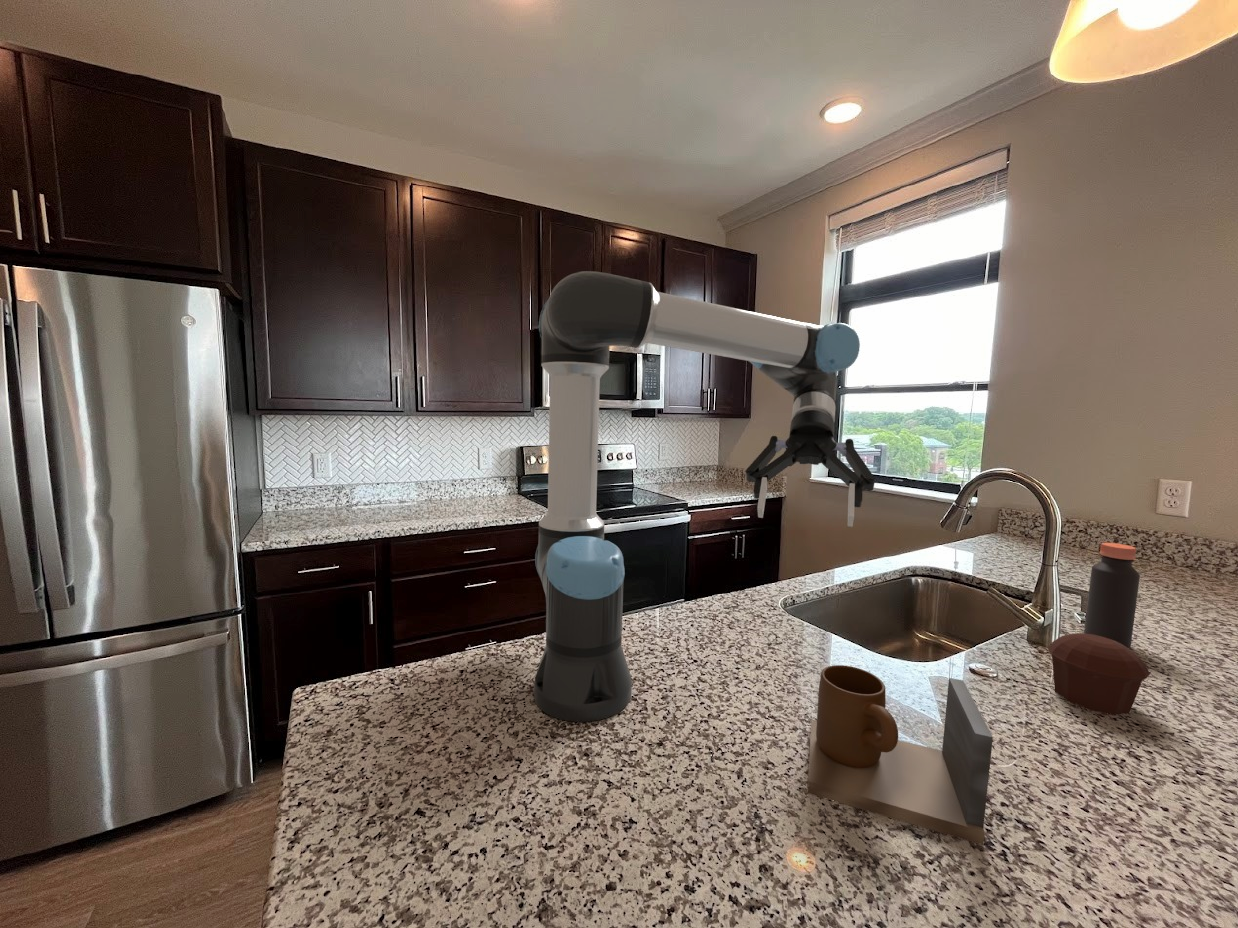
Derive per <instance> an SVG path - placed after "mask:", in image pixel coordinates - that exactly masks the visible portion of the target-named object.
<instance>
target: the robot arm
mask: <svg viewBox="0 0 1238 928" xmlns="http://www.w3.org/2000/svg"><path fill="white" fill-rule="evenodd" d="M538 320H539V321H538V331H539V336H540V338H541V363H540V364H541V365H540V366H541V367H542V368H543V370H544V371H545V372H546V373H548V375H549V414H548V415H549V417H548V419H549V421H548V422H549V427H548V428H549V429H548V475H547V476H548V479H547V482H548V483H547V485H548V486H547V512H546V514H545V516H543V517H542V518H541V519H540V520H539V521H538V544H537V547H536V551H535V555H534V557H535V559H534V560H535V567H536V568H535V569H536V571H537V574H538V577H539V578H540V581H541V584H542V588H543V591H544V594H545V604H546V605H545V606H546V607H545V609H546V611H545V612H546V613H545V615H546V616H545V618H546V619H545V647H544V650H543V653H542V657H541V659H540V662H539V664H538V668H537V670H536V673H535V677H534V681H533V699H534V702H535V704H536V705H537V707H538V708H539V709H540V710H541V711H543V712H544V713H546V714H547V715H548V716H551V717H553V718H555V719H559V720H563V721H567V722H578V723H580V722H581V723H582V722H583V723H584V722H594V721H600V720H603V719H607V718H610V717H612V716H614V715H616V714H618V713H620V712H621V711H622V710H624V709H625V708H626V707H627V706H628V705H629V703H630V702H631V699H632V693H633V692H632V691H633V690H632V688H633V686H632V685H633V680H632V676H631V673H630V669H629V665H628V662H627V660H626V656H625V653H624V648H623V646H622V641H623V640H622V637H623V609H624V608H623V607H624V606H623V605H624V602H623V601H624V580H625V574H626V573H625V565H624V556H623V555H624V554H623V553H622V551H621V549H620V548H619V547H618V546H617V545H616V544H615V543H613V542H611V541H609V540H605V521H603V519H602V518H601V517H600V516H599V515H598V514H597V497H598V496H597V492H598V491H597V490H598V489H597V488H598V460H599V459H598V456H599V455H598V454H599V452H598V451H599V450H598V449H599V419H600V417H599V416H600V386H601V385H600V383H601V381H600V380H601V378H602V376H603V375H604V374H605V373H606V372H607V371H608V370H609V369H610V347H614V346H615V347H617V346H618V347H619V346H620V347H622V346H623V347H627V348H628V347H629V348H634V349H639V348H641V347H642V346H644V345H645V344H651V345H656V346H662V347H669V348H673V349H680V350H684V351H690V352H696V353H702V354H707V355H708V354H709V355H714V356H720V357H725V358H731V359H736V360H740V361H741V360H742V361H746V362H747V361H748V362H749V363H750V364H751V365H753V366H754V367H755V368H756V370H758V371H760V372H762V374H764V375H765V376H766V377H768V378H769V379H771V380H772V381H774V382H775V383H777V384H778V385H779V386H780V387H782V388H783V389H784V390H786V391H787V392H788V393H789V394H791V395H792V396H793V403H792V413H791V419H790V420H791V421H790V426H789V428H790V429H789V434H788V435H789V436H788V438H787V439H785V440H783V439H778V437H777V436H776V435H772V436H771V437H770V439H769V442H768V444H767V446H766V447H765V448H764V449H763V450H762V451H761V453H759V455H758V456H757V457H756V458H755V459H754V460H753V461H752V463H751V464H750V465H749V466H748V467H747V468H746V469H745V476H746V481H747V482H748V483H751V482H752V483H754V486H753V497H754V499H758V502H757V507H756V508H757V509H756V510H757V517H758V518H761V519H763V518H764V512H765V505H766V498H767V494H768V493H767V492H768V482H769V481H771V480H772V479H773V478H775V477H776V476H777V475H778V474H780V473H781V472H782V471H784V470H785V469H787V468H788V467H792V466H794V465H795V464H796V463H799V464H800V465H806V464H809V465H813V466H818V465H820V464H821V465H823V466H824V467H825V469H827V470H830V471H831V472H832V473H833V474H834V475H836V477H838V478H839V479H840V480H841V481H842V482H843V483H844V484H845V485H846V486H847V487H848V495H847V496H848V497H847V499H848V500H847V527H851V528H853V527H854V521H855V508H861V507H862V504H863V492H864V491H868V492H871V491H873V490H874V488H875V482H876V478H875V475H873V473H872V472H871V470H870V469H869V467H868V466H867V465H866V463H865V461H864V460H863V459H862V457H861V456H860V454H859V453H858V452H857V450H856V448H855V444H854V440H853V439H852V438H847V439H846V440H845V442H836V440H835V420H836V398H837V389H838V384H839V383H838V382H839V381H838V380H839V379H838V375H837V372H840V371H844V370H847V369H848V368H850V367H851V366H853V364H854V363H855V362H856V360H857V358H858V357H859V353H860V347H861V343H860V338H859V335H858V333H857V331H856V330H855V329H854V328H853V327H852V326H851V325H849V324H846V323H844V322H843V323H842V322H838V323H832V322H830V323H828V324H827V323H826V324H825V325H817V324H813V323H808V322H802V321H797V320H792V319H787V318H782V317H779V316H778V317H777V316H773V315H768V314H764V313H759V312H756V311H755V312H754V311H748V310H745V309H741V308H735V307H733V306H727V305H722V304H716V303H713V302H712V303H711V302H707V301H703V300H697V299H693V298H689V297H683V296H680V295H679V296H678V295H675V294H669V293H665V292H661V291H657V290H656V289H655V287H654V285H653V283H651V282H648V281H644V280H639V279H635V278H630V277H626V276H622V275H616V274H611V273H607V272H600V271H592V270H589V271H587V270H586V271H583V270H582V271H577V272H574V273H571V274H569V275H567V276H565V277H563V278H562V279H561V280H560V281H559V282H558V283H557V284H556V285H555V286H554V288H553V289H552V291H551V293H550V294H549V297H548V299H547V300H546V301H545V303H544V304H543V307H542V310H541V312H540V315H539V319H538ZM782 449H785V450H784V452H783V453H782V454H781V455H779V456H777V458H775V459H774V460H773V458H774V457H775V456H776V454H777V453H780V451H781V450H782ZM836 451H838V452H839V453H840V454H841V456H842V457H845V460H846V461H847V463H848V465H849V466H850V467H849V466H847V464H845V463H844V462H843V461H842V460H841V459H840V458H839V457H837V456H836ZM772 460H773V461H772Z"/></svg>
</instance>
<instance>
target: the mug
mask: <svg viewBox="0 0 1238 928" xmlns="http://www.w3.org/2000/svg"><path fill="white" fill-rule="evenodd" d="M885 685H886V684H885V683H884V682H883V681H882V680H881V679H880V678H879V677H878V676H876V675H875V674H873V673H871V672H869V671H867V670H864V669H862V668H859V667H855V666H850V665H841V664H833V665H829V666H827V667H825V668H824V669H822V670H821V672H820V678H819V686H818V697H817V714H816V720H817V727H816V738H817V743H818V745H819V747H820V748H821V750H822V751H823V752H824V753H825V754H826V755H827V756H829V757H830V758H832V759H833V760H835V761H837V762H839V763H841V764H844V765H847V766H851V767H857V768H865V767H870V766H873V765H875V764H876V763H877V762H878V761H879V759H880V756H881V752H886V753H887V752H890V751H892V750H893V749H894V748H895V747H896V745H897V742H898V740H899V730H898V729H899V728H898V725H897V721H896V720H895V718H894V717H893V715H892V714H891V712H890V711H889V709H887V708H886V686H885Z"/></svg>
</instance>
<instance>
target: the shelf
mask: <svg viewBox="0 0 1238 928" xmlns="http://www.w3.org/2000/svg"><path fill="white" fill-rule="evenodd" d="M947 684H948V685H947V695H946V706H945V719H944V726H943V738H942V748H941V749H938V748H934V747H929V746H925V745H921V744H916V743H914V742H907V741H904V740H900V739H898V742H897V745H896V747H895V748H894V749H893V750H892V751H890V752H887V753H886V752H881V756H880V759H879V761H878V762H877V763H876V764H875V765H873V766H870V767H865V768H857V767H851V766H847V765H844V764H841V763H839V762H837V761H835V760H833V759H832V758H830V757H829V756H827V755H826V754H825V753H824V752H823V751H822V750H821V748H820V747H819V745H818V743H817V738H816V727H817V719H814V718H812V719H810V720H811V721H810V722H811V723H810V737H809V757H808V758H809V759H808V771H807V772H808V775H807V776H808V778H807V794H809V795H812V796H815V797H819V798H823V799H825V798H826V800H829V799H830V800H829V801H832V800H834V801H833V802H836V803H840V804H843V805H846V806H849V805H850V807H853V808H857V809H859V810H860V809H861V810H863V811H867V812H870V813H873V814H877V815H880V816H883V817H888V818H891V819H894V820H897V821H900V822H904V823H907V824H909V825H912V826H913V825H914V826H917V827H921V828H924V829H927V830H931V831H934V832H937V833H941V834H945V835H949V836H951V837H954V838H957V839H961V840H964V841H968V842H971V843H975V844H978V845H981V846H984V844H985V843H984V841H985V834H986V831H985V829H984V826H985V816H986V808H987V807H986V806H987V797H988V788H989V787H988V786H989V777H990V769H991V768H990V767H991V758H992V748H993V739H994V737H993V734H992V733H991V731H990V729H989V728H988V725H987V723H986V721H985V720H984V718H983V716H982V714H981V712H980V709H979V708H978V706H977V704H976V702H975V700H974V699H973V696H972V694H971V692H970V691H969V689H968V686H967V685H966V682H965V681H964V680H962V679H957V678H952V677H948V683H947Z"/></svg>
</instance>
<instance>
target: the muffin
mask: <svg viewBox="0 0 1238 928" xmlns="http://www.w3.org/2000/svg"><path fill="white" fill-rule="evenodd" d="M1046 648H1047V650H1048V652H1049V654H1050V655H1051V657H1052V658H1051V660H1052V671H1053V673H1052V674H1053V682H1054V683H1053V685H1054V693H1056V694H1058V695H1059V696H1061V698H1064V699H1065V700H1066V702H1069V703H1072V704H1074V705H1077V706H1078V707H1079V706H1080V707H1081V708H1084V709H1086V710H1088V711H1091V712H1097V713H1103V714H1105V715H1112V716H1114V717H1115V716H1120V715H1129V714H1130V712H1131V711H1132V708H1133V706H1134V703H1135V699H1137V695H1138V693H1139V690H1140V687H1141V685H1142V682H1143V681H1144V680H1146V679H1148V678H1149V677H1150V675H1151V672H1150V671H1149V669H1148V666H1147V665H1146V663H1145V662H1144V661H1143V660H1142V658H1140V656H1138V655H1137V653H1135V652H1134V651H1133V650H1131V648H1127V647H1126V646H1124V645H1122V644H1121V643H1118V642H1116V641H1114V640H1111V639H1108V638H1105V637H1102V636H1098V635H1093V634H1085V633H1084V632H1079V633H1078V632H1075V633H1068V634H1063V635H1061V636H1060V637H1058V638H1056V639H1054V640H1053V641H1052V642H1051V643H1050V644H1049V645H1048V646H1047V647H1046Z"/></svg>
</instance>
